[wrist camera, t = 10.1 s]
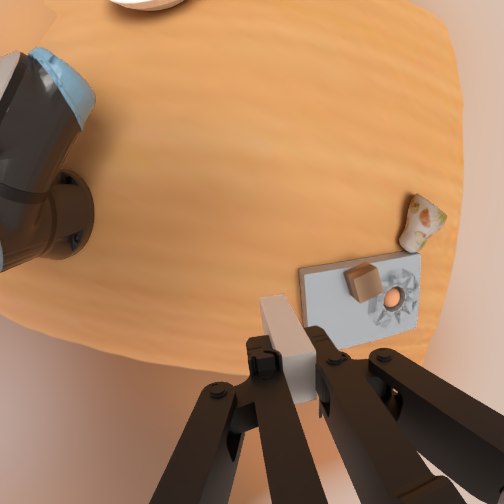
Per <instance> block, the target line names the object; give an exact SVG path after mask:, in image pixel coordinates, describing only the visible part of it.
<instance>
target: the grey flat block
mask: <svg viewBox="0 0 504 504" xmlns="http://www.w3.org/2000/svg"><path fill="white" fill-rule="evenodd" d="M365 261H366V262H368V263H369V264H371V265H373V266H375V267H377V268H378V272H379V276H380V280H381V284H382V288H383V293H381V294H379V295H377V296H375V297H373V298H371V299H369V300H367V301H365V302H363V303H361V304H360V303H359V302H358V301H356V300H355V299H354V298H353V297H352V296H351V295H350V293H349V290H348V287H347V283H346V280H345V277H344V274H343V272H344V271H346V270H348V269H351V268H353V267H355V266H357V265H359V264H361V263H363V262H365ZM420 272H421V254H420V253H417V252H414V253H409V252H408V251H401V252H395V253H390V254H384V255H379V256H373V257H367V258H361V259H355V260H350V261H344V262H338V263H331V264H325V265H319V266H313V267H307V268H300V269H299V277H300V288H301V300H302V313H303V327H304V328H305V327H310V326H315V325H317V326H319V327H321V328H323V329H324V330H325V332H326V333H327V335H328V336H329V338H330V339H331V340H332V342H333V343H334V345H335V346H336V348H337V349H338V350H339V349H344V348H348V347H352V346H356V345H360V344H363V343H367V342H371V341H375V340H378V339H382V338H385V337H389V336H392V335H395V334H398V333H402V332H405V331H408V330H411V329H414V328H416V326H417V317H418V306H419V293H420ZM392 287H395V288H396V289H397V290H398V291H399V294H400V300H399V302H398V303H397V305H395V306H393V307H387V306H385V305H383V302H384V297H385V295H386V293H387V291H389V290H390V289H391V288H392Z"/></svg>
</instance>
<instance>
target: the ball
mask: <svg viewBox="0 0 504 504" xmlns="http://www.w3.org/2000/svg"><path fill="white" fill-rule="evenodd" d="M399 300H400V294H399V291H398V290H397V289H396V288H394V287H392V288H391V289H390V290H389V291H387V293H386V295H385V297H384V302H383V304H384V305H385V306H387V307H393V306H395V305H397V303H398V302H399Z"/></svg>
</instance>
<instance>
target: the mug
mask: <svg viewBox="0 0 504 504" xmlns="http://www.w3.org/2000/svg"><path fill="white" fill-rule="evenodd" d="M446 219H447V215H446V214H445V213H444V212H443V211H441V210H440V209H439V208H438V207H437V206H435V205H434V204H433V203H431V202H430V201H428V200H427V199H425V198H424V197H422V196H421V195H419V194H416V195H415V196H414V197H413V198H412V200H411V202H410V205H409V209H408V215H407V222H406V226H405V229H404V231H403V233H402V235H401V236H400V238H399V241H400V245H401V246H402V247H403V248H404V249H405V250H406V251H408V252H409V253H414V252H417V251H419V250H421V249H422V248H423V246H424V245H425V242H426V240H427V239H428V238H429V237H430V236H432V235H433V234H434V233H436V232H437V231H438V230H440V229H441V228H442V226H443V225H444V223H445V221H446Z"/></svg>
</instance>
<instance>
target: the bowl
mask: <svg viewBox="0 0 504 504" xmlns="http://www.w3.org/2000/svg"><path fill="white" fill-rule="evenodd" d="M110 1H112V2H114V3H116V4H119V5H121V6H124V7H126V8H132V9H137V10H143V11H151V10H152V11H156V10H163V9H167V8H170V7H173V6H175V5H177V4H179V3H181V2H182V1H184V0H110Z"/></svg>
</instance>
